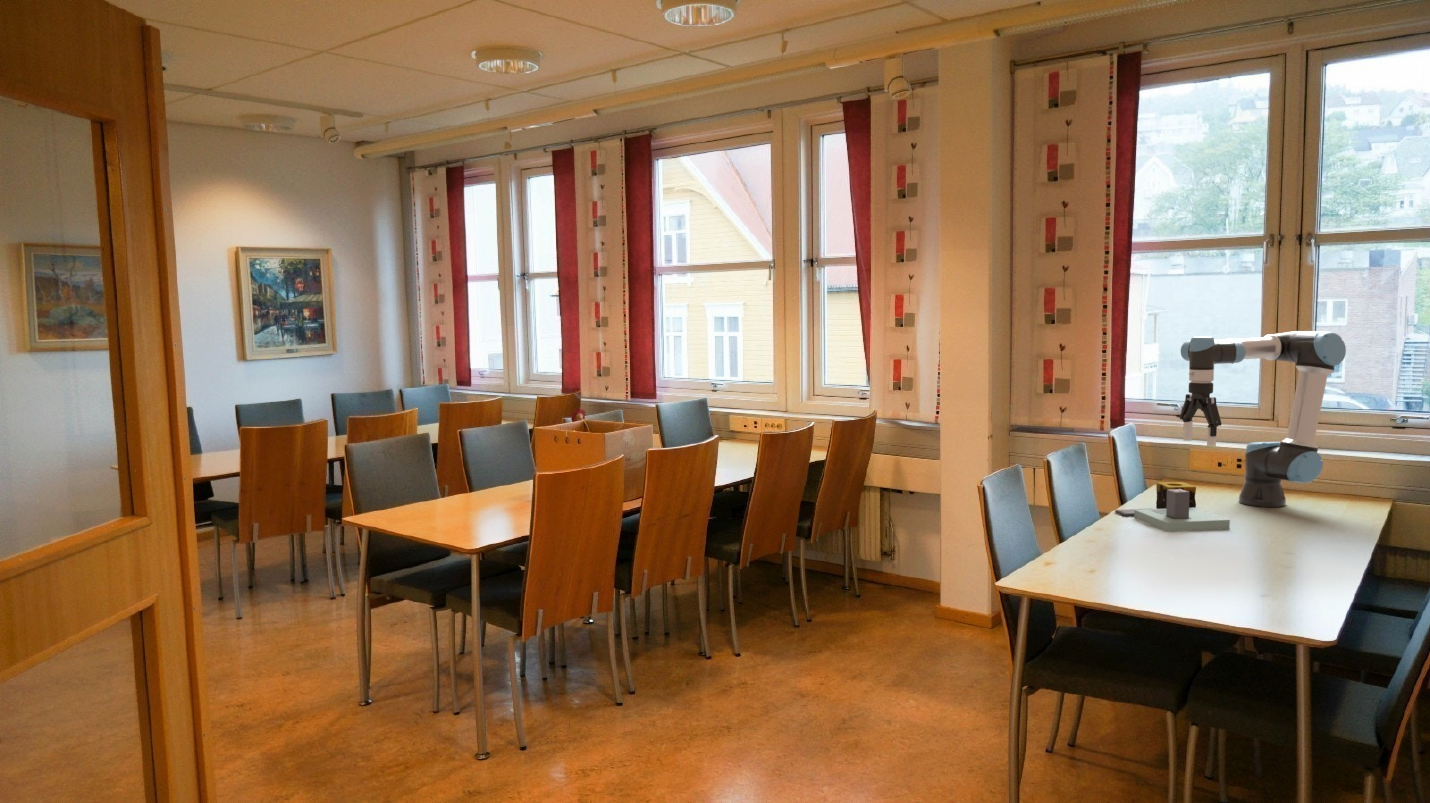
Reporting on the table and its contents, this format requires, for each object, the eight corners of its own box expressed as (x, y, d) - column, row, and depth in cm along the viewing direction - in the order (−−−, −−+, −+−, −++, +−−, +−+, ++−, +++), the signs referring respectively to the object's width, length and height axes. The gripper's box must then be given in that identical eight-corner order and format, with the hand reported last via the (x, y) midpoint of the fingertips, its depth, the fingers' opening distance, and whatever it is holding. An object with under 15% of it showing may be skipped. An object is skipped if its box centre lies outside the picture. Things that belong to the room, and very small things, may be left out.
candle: (1196, 514, 338) (1197, 486, 337) (1167, 514, 339) (1168, 487, 338) (1183, 508, 348) (1183, 481, 347) (1155, 508, 349) (1156, 481, 348)
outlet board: (1193, 515, 336) (1194, 507, 335) (1229, 528, 316) (1229, 519, 316) (1134, 518, 334) (1134, 509, 333) (1166, 531, 314) (1166, 522, 314)
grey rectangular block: (1179, 523, 324) (1180, 488, 323) (1188, 527, 319) (1189, 491, 318) (1166, 524, 324) (1166, 489, 323) (1174, 527, 319) (1175, 491, 318)
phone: (1152, 511, 344) (1152, 508, 344) (1163, 515, 337) (1163, 512, 337) (1115, 512, 343) (1115, 509, 343) (1125, 516, 336) (1125, 513, 336)
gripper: (1170, 379, 338) (1168, 438, 340) (1212, 384, 313) (1211, 448, 315) (1190, 378, 339) (1188, 437, 341) (1234, 384, 314) (1232, 447, 316)
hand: (1199, 443), depth 328 cm, fingers open, 13 cm apart
